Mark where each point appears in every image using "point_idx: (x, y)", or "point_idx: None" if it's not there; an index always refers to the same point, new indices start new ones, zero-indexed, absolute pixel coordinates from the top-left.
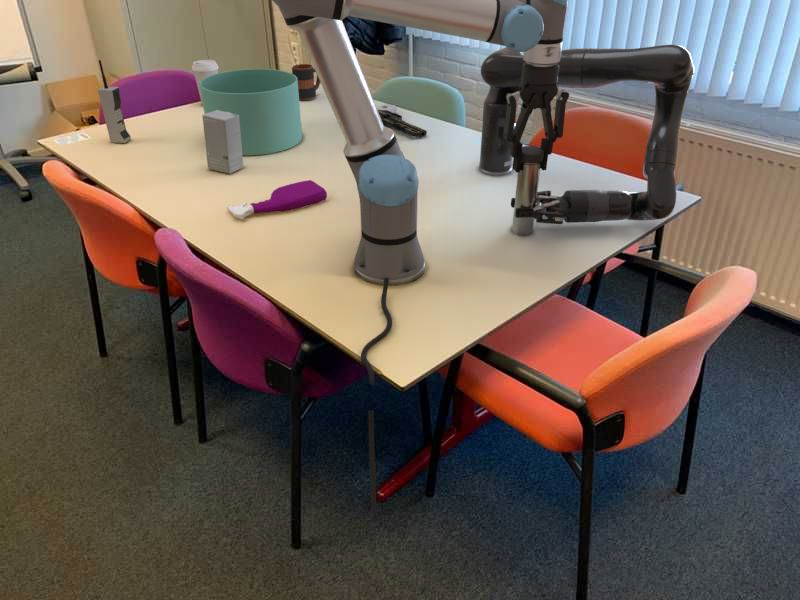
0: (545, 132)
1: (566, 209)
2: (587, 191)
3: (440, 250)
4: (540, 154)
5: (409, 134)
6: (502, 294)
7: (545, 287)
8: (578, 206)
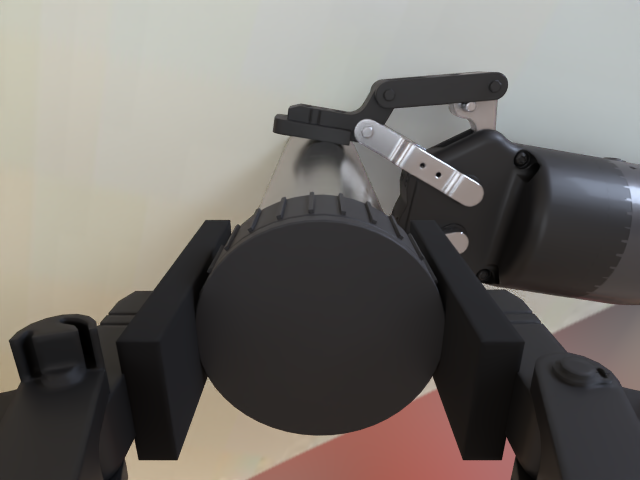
0: (540, 436)
1: None
2: (627, 257)
3: (5, 238)
4: (364, 426)
5: None
6: (154, 462)
7: (266, 456)
8: (525, 290)
